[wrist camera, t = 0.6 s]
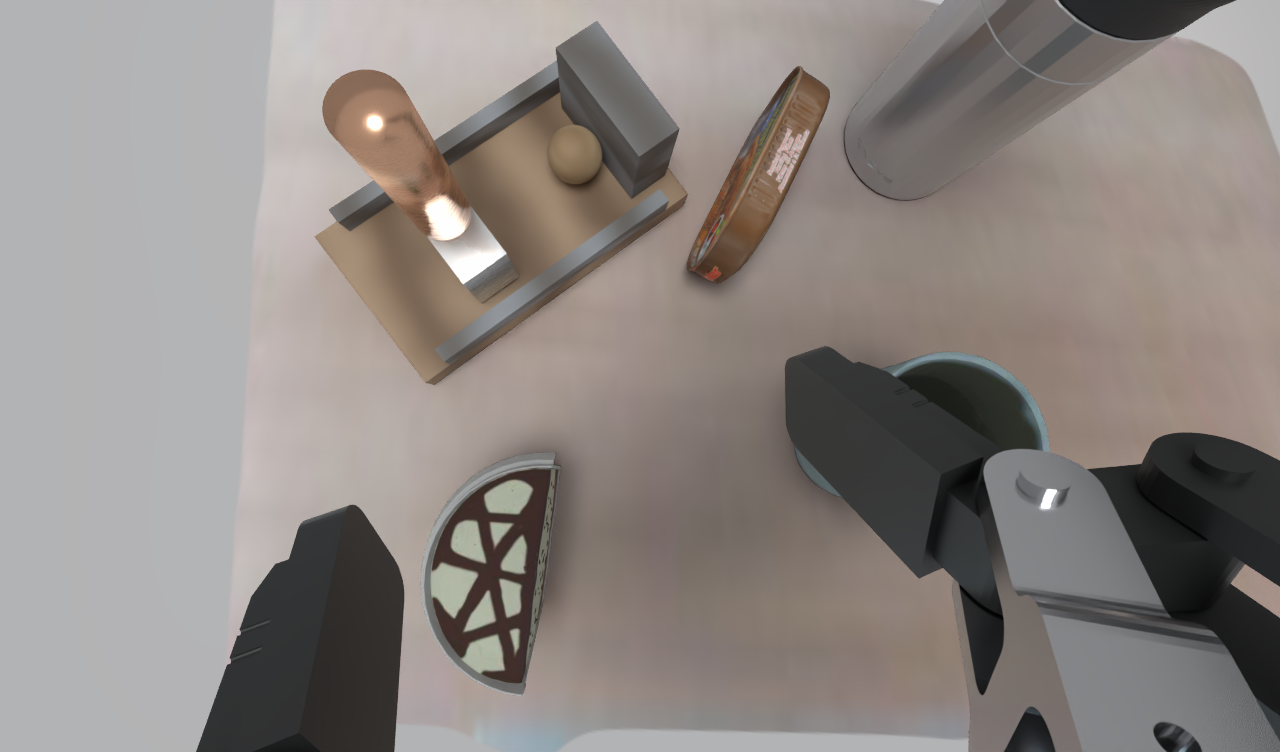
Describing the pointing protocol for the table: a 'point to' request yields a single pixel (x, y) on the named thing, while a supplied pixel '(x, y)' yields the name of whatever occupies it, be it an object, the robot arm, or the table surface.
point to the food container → (492, 569)
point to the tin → (760, 177)
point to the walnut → (574, 154)
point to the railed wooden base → (516, 206)
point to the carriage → (414, 175)
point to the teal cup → (969, 401)
